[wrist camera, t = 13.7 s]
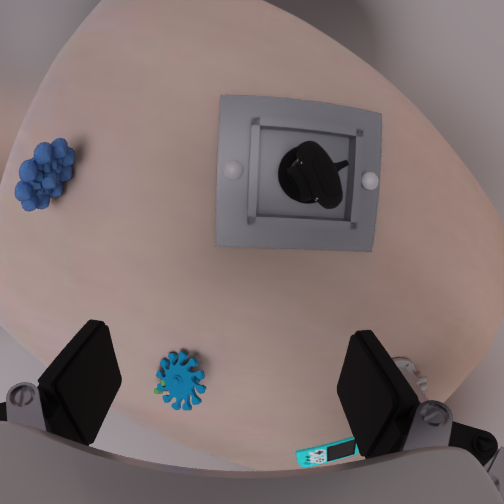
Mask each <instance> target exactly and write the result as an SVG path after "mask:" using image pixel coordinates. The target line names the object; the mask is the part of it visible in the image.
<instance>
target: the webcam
mask: <svg viewBox="0 0 504 504" xmlns="http://www.w3.org/2000/svg"><path fill="white" fill-rule="evenodd" d="M296 159H297V163H296V164H295V165H294V166H291V165H292V164H293V162H294V161H295V160H296ZM348 165H349V162H348V161H347V160H344V161H341V162H338V163H333V161H332V159H331V158H330V157H329V155H328V154H327V152H326V151H325V150H324V149H323V148H322V147H321V146H320V145H319V144H318V143H316V142H315V141H305V142H303V143H301V144H300V145H299V146H297V147H295V148H293V149H291V150H289V151H288V152H287V153H286V154H285V155H284V157H283V158H282V160H281V162H280V165H279V169H278V179H279V183H280V186H281V188H282V189H283V191H284V192H285V193H286V194H287V195H288V196H289V197H290V198H291V199H293V200H295V201H298V202H300V203H304V204H312V203H316V202H318V203H319V204H320V205H321V206H322V207H324V208H325V209H334V208H336V207H338V205H339V204H340V203H341V202H342V199H343V191H342V185H341V180H340V176H339V174H338V172H339V171H340V170H341V169H343V168H345V167H347V166H348Z"/></svg>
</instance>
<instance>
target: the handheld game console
mask: <svg viewBox="0 0 504 504" xmlns="http://www.w3.org/2000/svg"><path fill="white" fill-rule="evenodd" d="M358 452H359V450H358V447H357V444H356V442H355V439H354V437H350V438H347V439H344V440H340V441H337V442H333V443H329V444H325V445H321V446H317V447H312V448H308V449H303V450H298V451H296V455H297V460H298V464H299V465H300V466H301V467H310V466H315V465H319V464H324V463H328V462H331V461H335V460H339V459H343V458H346V457H349V456H353V455H356V454H358Z"/></svg>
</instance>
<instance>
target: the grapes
mask: <svg viewBox="0 0 504 504" xmlns="http://www.w3.org/2000/svg"><path fill="white" fill-rule="evenodd" d="M74 159H75V153H74V150H73V149H72V148H70V147H68V144H67V142H66V140H65V139H63V138H58V139H56V140H54V141H53V142H52V143H51V145H50V143H47V142H43V143H40V144H39V145H37V147H36V148H35V150H34V157H33V158H32V159H29V160H26V161H24V162H23V163H22V164H21V166H20V169H19V176H20V179H21V181H20V182H18V183H17V185H16V187H15V196H16V198H17V199H18V200H19V201H22V202H21V204H22V208H23V209H24V210H25V211H33V210H35V209H36V208H37V209H45V208H47V207H48V206H49V203H50V197H51V198H56V197H59V196H61V195H62V190H63V186H62V183H61V182H66V181H68V180H70V179H71V177H72V167H71V166H70V165H72V164H73V163H74Z"/></svg>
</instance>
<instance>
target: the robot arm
mask: <svg viewBox="0 0 504 504" xmlns="http://www.w3.org/2000/svg"><path fill="white" fill-rule="evenodd" d="M426 381H427V377H426V376H423V377H420V378H418V377H417V376H416V375H415V367H414V365H413V364H412V362H411V361H410V360H408V359H406V358H394V359H392V358H391V357H390V355H389V354H388V353H387V351H386V350H385V348H384V347H383V346H382V344H381V343H380V341H379V340H378V339H377V337H376V336H375V335H374V333H373V332H372V331H371V330H361V331H356V332H355V335H352V336H351V338H350V341H349V345H348V349H347V353H346V356H345V360H344V364H343V367H342V371H341V374H340V378H339V381H338V384H337V394H338V396H339V399H340V402H341V404H342V407H343V410H344V412H345V415H346V417H347V420H348V423H349V425H350V428H351V431H352V434H353V436H354V439H355V442H356V444H357V447H358V450H359V453H360V455H361V456H365V458H366V459H364V460H359V461H354V462H348V463H343V464H336V465H330V466H323V467H315V468H306V469H296V470H281V471H220V470H206V469H195V468H186V467H178V466H171V465H164V464H159V463H153V462H148V461H142V460H138V459H134V458H129V457H125V456H121V455H117V454H113V453H110V452H106V451H103V450H99V449H96V448H93V447H90V446H89V444H92V443H93V442H94V440H95V438H96V436H97V434H98V432H99V430H100V427H101V425H102V423H103V421H104V419H105V417H106V415H107V412H108V410H109V408H110V406H111V404H112V402H113V400H114V398H115V396H116V394H117V392H118V390H119V388H120V386H121V382H122V377H121V374H120V370H119V367H118V363H117V359H116V356H115V352H114V348H113V344H112V340H111V335H110V331H109V327H108V326H107V325H105V323H104V322H103V321H98V320H89V321H88V322H87V323H86V324H85V325H84V326H83V327H82V328H81V329H80V331H79V332H78V333H77V334H76V335H75V336H74V337H73V339H72V340H71V341H70V342H69V343H68V344H67V345H66V347H65V348H64V349H63V350H62V351H61V352H60V354H59V355H58V356H57V357H56V358H55V360H54V361H53V362H52V363H51V364H50V366H49V367H48V368H47V369H46V370H45V372H44V373H43V374H42V376H41V377H40V378H39V379H38V382H39V386H38V387H36V386H35V385H34V384H32V383H28V382H22V383H18V384H16V385H14V386H13V387H11V389H10V390H9V391H8V393H7V397H6V402H3V403H0V504H504V447H502V446H501V448H500V449H498V445H497V444H498V443H497V440H496V439H495V437H494V436H493V435H492V434H491V433H489V432H487V431H484V430H480V429H477V428H473V427H470V426H467V425H463V424H460V423H457V422H454V421H453V415H452V412H451V410H450V409H449V407H448V406H447V405H445V404H444V403H442V402H439V401H435V400H428V399H427V397H426V396H425V394H424V393H423V391H426V390H427V383H424V382H426ZM419 383H421V384H419Z"/></svg>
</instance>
